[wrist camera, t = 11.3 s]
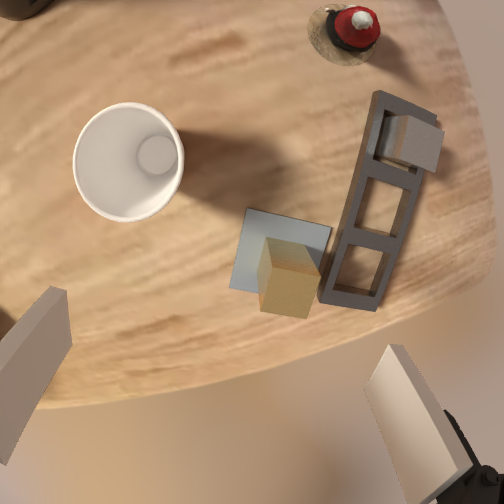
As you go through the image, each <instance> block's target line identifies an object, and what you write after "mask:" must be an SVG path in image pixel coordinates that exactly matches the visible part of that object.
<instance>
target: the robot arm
mask: <svg viewBox="0 0 504 504" xmlns="http://www.w3.org/2000/svg"><path fill="white" fill-rule="evenodd" d="M53 1H54V0H0V17H3V18H5V19H8V20H12V21H19V20H23V19H26V18H29V17H31V16H33V15H35V14H37V13H38V12H40V11H41V10H43V9H44V8H45V7H47V6H48V5H49V4H50V3H51V2H53ZM71 346H72V338H71V330H70V322H69V313H68V302H67V290H64V289H60V288H56V287H53V286H50V287H49V288H48V289H47V290H46V291H45V292H44V293H43V294H42V295H41V297H40V298H39V299H38V300H37V301H36V302H35V303H34V304H33V305H32V306H31V307H30V308H29V309H28V310H27V311H26V313H25V314H24V315H23V316H22V317H21V318H20V319H19V320H18V321H17V322H16V324H15V325H14V326H13V327H12V328H11V329H10V330H9V332H8V333H7V334H6V335H5V336H4V337H3V339H2V340H1V341H0V463H1V464H3V465H5V466H6V465H7V463H8V461H9V459H10V456H11V454H12V452H13V450H14V448H15V446H16V444H17V442H18V440H19V438H20V436H21V434H22V432H23V430H24V428H25V426H26V424H27V422H28V421H29V419H30V417H31V415H32V413H33V411H34V409H35V408H36V406H37V404H38V402H39V400H40V399H41V397H42V395H43V393H44V391H45V390H46V388H47V386H48V384H49V383H50V381H51V379H52V378H53V376H54V374H55V373H56V371H57V369H58V368H59V366H60V364H61V363H62V361H63V359H64V358H65V356H66V354H67V353H68V351H69V350H70V348H71ZM364 392H365V394H366V397H367V399H368V402H369V404H370V407H371V409H372V412H373V414H374V416H375V419H376V422H377V424H378V427H379V429H380V432H381V434H382V437H383V439H384V442H385V444H386V447H387V450H388V452H389V455H390V457H391V460H392V463H393V466H394V468H395V471H396V473H397V476H398V479H399V482H400V485H401V487H402V490H403V493H404V496H405V499H406V501H407V504H429V503H430V502H431V501H432V500H434V499H435V498H436V500H437V502H438V503H437V504H504V474H498V472H497V471H496V470H495V469H494V468H492V467H491V466H488V465H483V466H481V464H480V463H479V461H478V459H477V458H476V456H475V454H474V452H473V450H472V448H471V447H470V445H469V443H468V441H467V439H466V438H465V437H464V434H463V432H462V431H461V430H460V427H459V425H458V424H457V423H456V420H455V418H454V417H453V416H452V415H451V414H450V413H449V412H447V411H446V410H442V408H441V406H440V404H439V403H438V401H437V399H436V398H435V396H434V394H433V393H432V391H431V389H430V388H429V386H428V384H427V383H426V381H425V379H424V378H423V376H422V374H421V373H420V371H419V370H418V368H417V366H416V365H415V363H414V362H413V360H412V359H411V357H410V355H409V354H408V352H407V351H406V349H405V348H404V346H403V345H397V344H389V345H388V347H387V348H386V350H385V352H384V354H383V356H382V358H381V360H380V361H379V363H378V365H377V367H376V369H375V371H374V372H373V374H372V376H371V378H370V379H369V381H368V383H367V385H366V386H365V388H364Z"/></svg>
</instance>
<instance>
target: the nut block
mask: <svg viewBox="0 0 504 504" xmlns="http://www.w3.org/2000/svg"><path fill="white" fill-rule="evenodd" d="M320 279H321V276H320V274H319V272H318V270H317V268H316V266H315V264H314V262H313V260H312V259H311V257H310V255H309V253H308V251H307V249H306V247H305V246H304V245H303V244H299V243H294V242H289V241H285V240H280V239H276V238H271V237H266V238H265V242H264V246H263V250H262V254H261V257H260V261H259V265H258V269H257V281H258V292H259V303H260V311H261V312H267V313H273V314H279V315H285V316H291V317H297V318H303V319H307V316H308V314H309V311H310V308H311V305H312V302H313V299H314V297H315V294H316V291H317V288H318V285H319V282H320Z"/></svg>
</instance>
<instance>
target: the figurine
mask: <svg viewBox="0 0 504 504" xmlns="http://www.w3.org/2000/svg"><path fill="white" fill-rule="evenodd" d="M308 34H309V39H310V41H311V43H312V45H313V46H314V48H315V49H316V50H317V51H318V53H319V54H321V55H322V56H323V57H324V58H326V59H327V60H329V61H331V62H333V63H336V64H339V65H344V66H353V65H357V64H361V63H363V62H365V61H366V60H368V59H369V58H370V57H371V55H372V54H373V52H374V50H375V47H376V40H377V39H378V38H380V36H381V28H380V25H379V23H378V19H377V16H376V13H375V12H373V11H372V10H370V9H368V8H366V7H361V6H357V5H351V4H350V5H349V6H346V5H339V4H330V5H326V6H323V7H321V8H319V9H318V10H316V11H315V12H314V13H313V14H312V16H311V18H310V20H309V23H308ZM349 61H350V62H349ZM352 63H353V64H352Z"/></svg>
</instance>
